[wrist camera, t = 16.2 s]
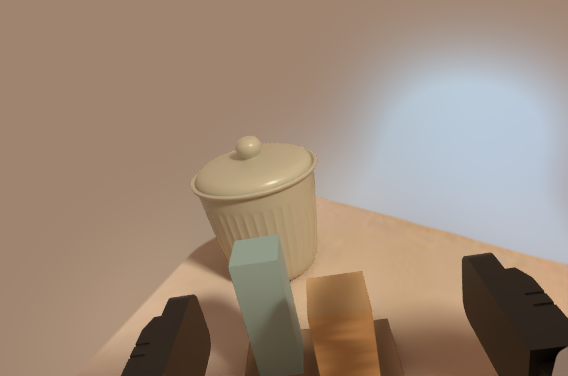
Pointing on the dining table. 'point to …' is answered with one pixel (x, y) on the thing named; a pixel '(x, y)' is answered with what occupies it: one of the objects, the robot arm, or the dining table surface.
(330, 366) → the oak post
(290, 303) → the frame base
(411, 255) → the dining table surface
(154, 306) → the dining table surface
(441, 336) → the dining table surface
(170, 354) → the robot arm
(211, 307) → the dining table surface
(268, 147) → the canister
